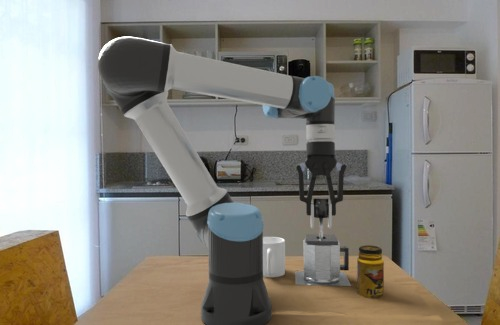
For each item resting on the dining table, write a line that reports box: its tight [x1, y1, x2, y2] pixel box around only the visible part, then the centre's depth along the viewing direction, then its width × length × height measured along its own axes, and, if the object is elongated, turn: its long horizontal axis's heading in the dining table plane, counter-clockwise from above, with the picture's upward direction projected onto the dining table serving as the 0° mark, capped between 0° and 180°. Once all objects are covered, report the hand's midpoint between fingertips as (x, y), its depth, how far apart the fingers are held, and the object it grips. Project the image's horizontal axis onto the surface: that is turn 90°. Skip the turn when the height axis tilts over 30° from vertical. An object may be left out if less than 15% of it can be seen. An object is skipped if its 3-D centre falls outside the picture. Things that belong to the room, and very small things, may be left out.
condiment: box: [356, 244, 385, 299], centre depth 89 cm, size 7×8×12 cm
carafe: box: [302, 233, 350, 284], centre depth 100 cm, size 12×10×11 cm
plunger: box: [312, 197, 329, 239], centre depth 100 cm, size 7×7×19 cm
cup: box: [263, 236, 286, 278], centre depth 103 cm, size 8×12×10 cm
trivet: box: [294, 270, 352, 287], centre depth 100 cm, size 14×11×1 cm
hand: (321, 227), depth 100 cm, fingers closed on plunger, 4 cm apart
